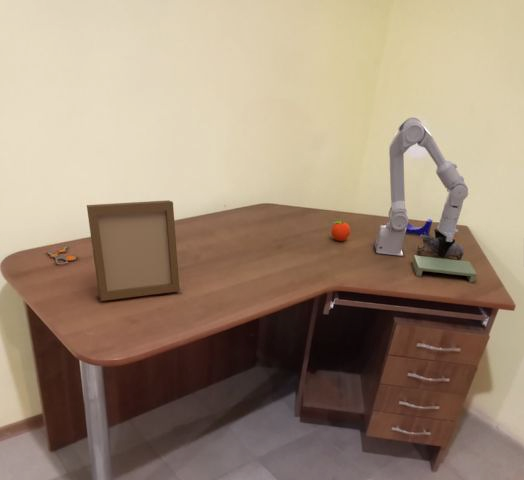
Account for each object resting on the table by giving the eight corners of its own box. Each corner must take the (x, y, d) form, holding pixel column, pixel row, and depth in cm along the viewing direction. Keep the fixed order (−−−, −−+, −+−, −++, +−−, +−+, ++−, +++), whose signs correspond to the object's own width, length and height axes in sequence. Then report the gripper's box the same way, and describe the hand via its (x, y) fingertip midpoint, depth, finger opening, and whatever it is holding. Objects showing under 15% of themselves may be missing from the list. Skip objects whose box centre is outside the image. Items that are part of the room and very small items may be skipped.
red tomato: (325, 241, 191) (328, 222, 187) (329, 234, 196) (332, 216, 192) (347, 245, 189) (350, 226, 185) (350, 238, 195) (353, 220, 191)
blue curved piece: (396, 229, 207) (399, 215, 203) (399, 226, 210) (403, 212, 207) (425, 237, 202) (429, 223, 198) (428, 234, 205) (432, 220, 202)
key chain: (78, 262, 160) (78, 259, 160) (54, 266, 157) (53, 263, 156) (68, 246, 169) (68, 244, 168) (45, 250, 166) (44, 247, 165)
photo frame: (179, 294, 149) (178, 209, 135) (101, 304, 141) (91, 214, 127) (166, 271, 160) (164, 191, 146) (93, 279, 152) (83, 195, 138)
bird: (462, 263, 184) (468, 243, 179) (416, 257, 185) (421, 237, 181) (460, 257, 188) (466, 238, 184) (415, 251, 190) (420, 231, 186)
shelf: (416, 275, 172) (418, 267, 170) (412, 263, 180) (414, 255, 179) (474, 282, 171) (476, 274, 170) (467, 269, 180) (469, 261, 178)
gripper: (466, 225, 172) (454, 262, 180) (457, 210, 184) (446, 246, 192) (445, 222, 172) (434, 260, 180) (437, 208, 184) (427, 244, 192)
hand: (439, 253), depth 186 cm, fingers closed on bird, 5 cm apart
